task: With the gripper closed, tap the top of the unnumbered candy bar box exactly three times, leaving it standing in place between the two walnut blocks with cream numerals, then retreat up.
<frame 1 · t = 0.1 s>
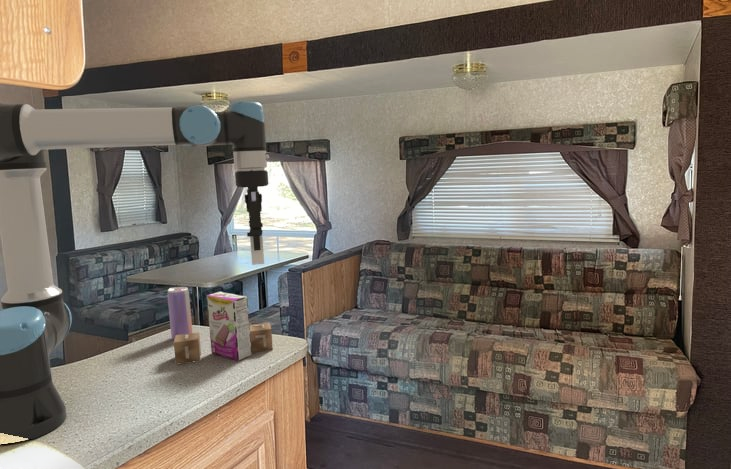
hand: (257, 258, 130), 28 cm above the kitchen counter, fingers open, 13 cm apart
candy bar box: (231, 355, 146), on the kitchen counter
walnut block seven: (260, 347, 151), on the kitchen counter
beverage can: (182, 338, 161), on the kitchen counter
walnut block one: (188, 359, 144), on the kitchen counter
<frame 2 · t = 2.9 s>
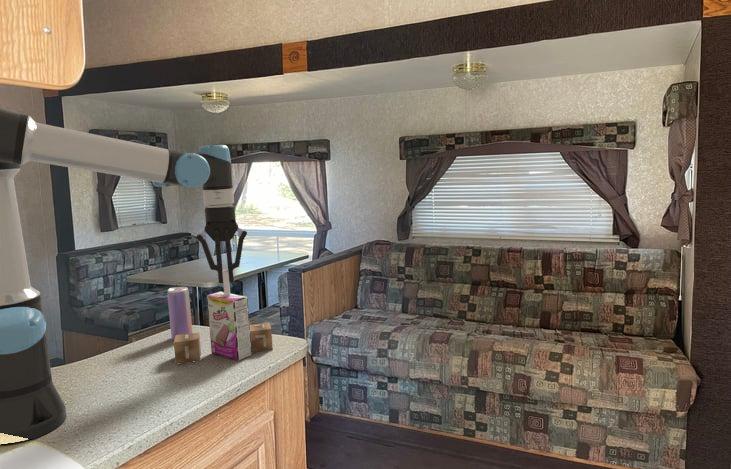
hand: (227, 294, 143), 17 cm above the kitchen counter, fingers closed
candy bar box: (231, 355, 146), on the kitchen counter, touching gripper
everything else where it was.
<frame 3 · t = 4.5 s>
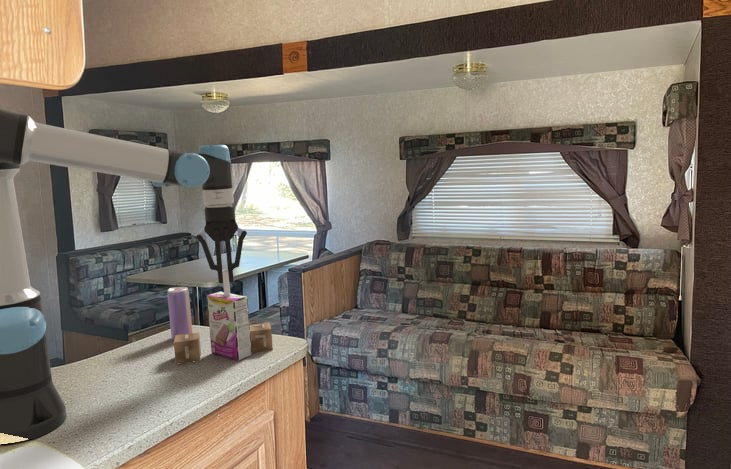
hand: (227, 294, 143), 17 cm above the kitchen counter, fingers closed
nothing on the kitchen counter moved.
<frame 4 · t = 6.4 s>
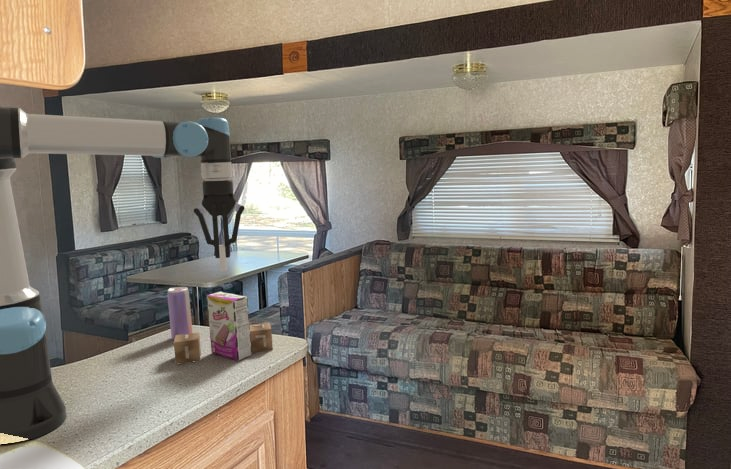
hand: (223, 270, 142), 23 cm above the kitchen counter, fingers closed
candy bar box: (231, 355, 146), on the kitchen counter
everything else where it was.
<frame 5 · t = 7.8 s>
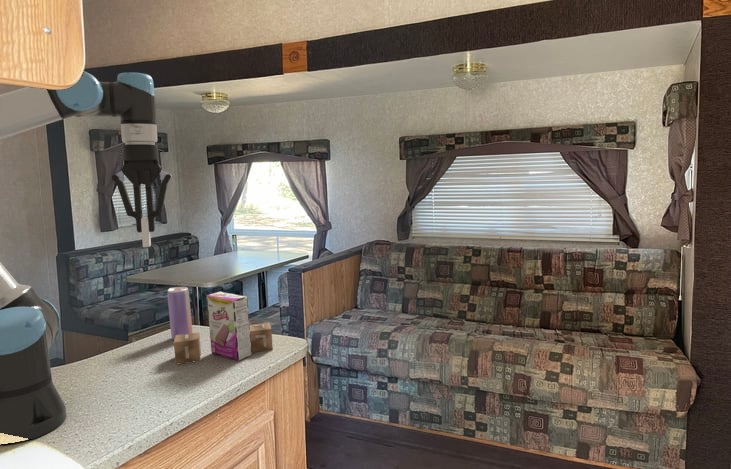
hand: (146, 245, 127), 33 cm above the kitchen counter, fingers closed
nothing on the kitchen counter moved.
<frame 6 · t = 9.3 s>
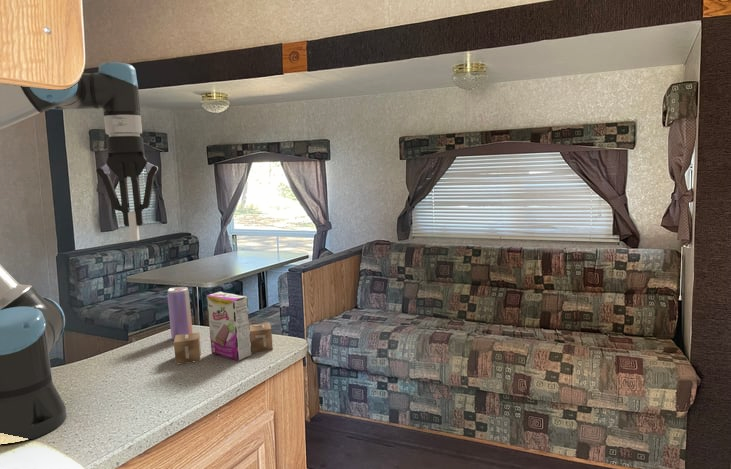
hand: (135, 240, 125), 34 cm above the kitchen counter, fingers closed
nothing on the kitchen counter moved.
at the end: candy bar box moved 0.2 cm from its start; candy bar box tilted 0°; walnut block seven moved 0.1 cm from its start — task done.
